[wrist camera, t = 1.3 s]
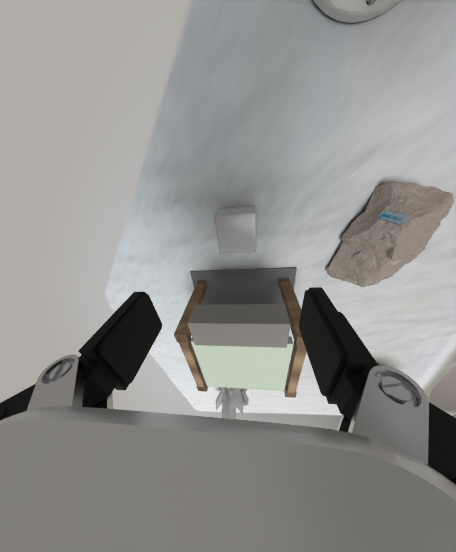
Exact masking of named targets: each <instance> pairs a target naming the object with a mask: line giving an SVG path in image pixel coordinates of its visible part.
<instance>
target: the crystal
mask: <svg viewBox="0 0 456 552" xmlns="http://www.w3.org/2000/svg"><path fill="white" fill-rule="evenodd" d="M220 389H221V392H220V393H219V395H218V397H217V399H216V410H217V409H218V407H219V406H220V405H221V403H222V417H223V418H224V419H235V415H236V406H237V408H238V409H239V410H240V412H241V413H242V412H243V406H245V405H248V397H247V395H246V393H245V392H246V391H247V389H244V388H228V387H220Z"/></svg>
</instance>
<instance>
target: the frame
mask: <svg viewBox="0 0 456 552" xmlns="http://www.w3.org/2000/svg"><path fill="white" fill-rule="evenodd" d="M279 288H280V291H281V295H282V298H283V302H284V304H285V307H286V310H287V314H288V317H289V321H290V327H291V330H292V334H293V337H294V345H293V350H292V355H291V361H290V363H289V369H288V374H287V379H286V385H285V390H284V392H285V397H296V388H297V385H298V381H299V377H300V373H301V370H302V366H303V362H304V358H305V355H306V348H305V345H304V342H303V339H302V336H301V333H300V330H299V321H300V315H301V308H300V305H299V303H298V300H297V298H296V295H295V293H294V290H293V288H292V285H291V283H290V280H289V278H279ZM206 290H207V282H206V281H198V282H197V284H196V287H195V289H194V291H193V293H192V295H191V298H190V300H189V302H188V304H187V307H186V309H185V311H184V313H183V316H182V318H181V320H180V322H179V324H178V327H177V329H176V331H175V333H174V336H175V338H176V340H177V342H179V344H180V347H181V349H182V351H183V354H184V356H185V358H186V361H187V363H188V365H189V368H190V370H191V372H192V375H193V377H194V379H195V382H196V384H197V389H198V391H207V388H208V386H207V385H206V382H205V379H204V377H203V374H202V371H201V368H200V365H199V363H198V360H197V357H196V354H195V352H194V349H193V346H192V343H191V340H192V339H191V332H190V329H189V326H188V324H187V323H188V321H189V318H190V315H191V313H192V310H193V308H194V305H202V302H203V299H204V296H205V293H206Z"/></svg>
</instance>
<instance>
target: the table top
mask: <svg viewBox="0 0 456 552" xmlns="http://www.w3.org/2000/svg"><path fill="white" fill-rule="evenodd" d="M296 269H297V268H296V267H289V268H263V269H237V270H211V271H191V272H190V273H191V277H192V280H193V284H194V288H195V287H196V284H197V282H198V281H206V282H207V290H206V293H205V296H204V299H203V302H202V305H219V304H284V302H283V298H282V295H281V291H280V288H279V278H289V280H290V283H291V285H292V288H293V289H294V282H295V275H296Z"/></svg>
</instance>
